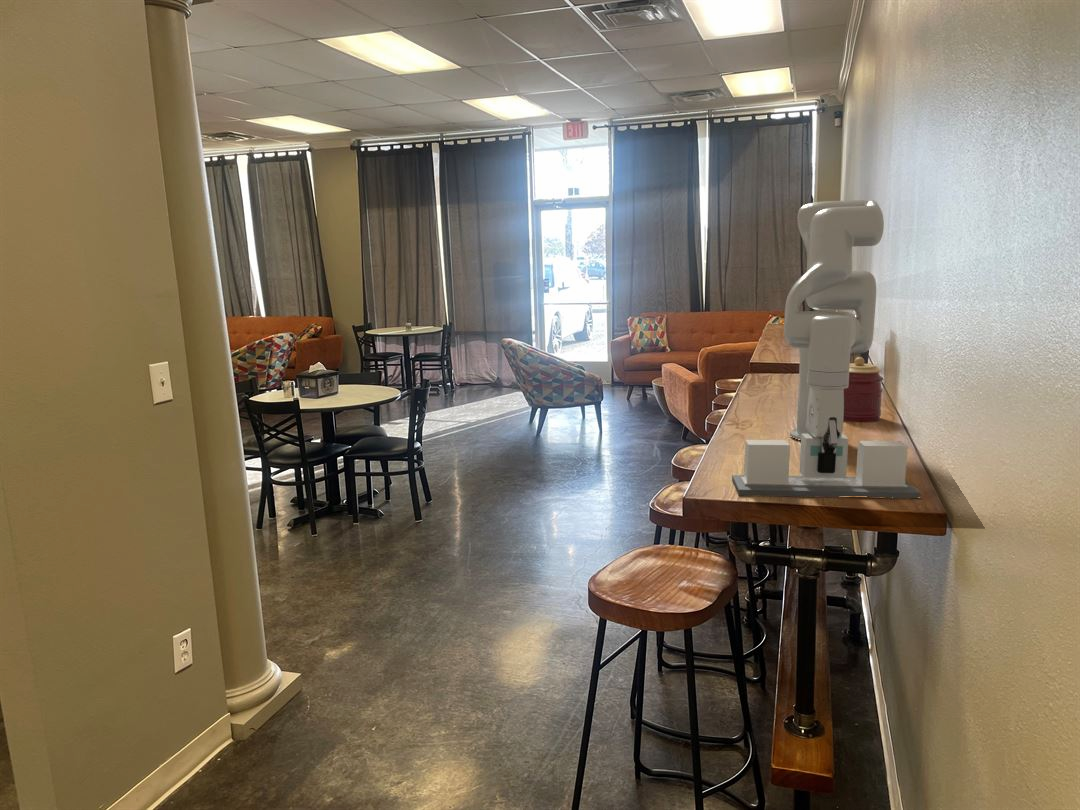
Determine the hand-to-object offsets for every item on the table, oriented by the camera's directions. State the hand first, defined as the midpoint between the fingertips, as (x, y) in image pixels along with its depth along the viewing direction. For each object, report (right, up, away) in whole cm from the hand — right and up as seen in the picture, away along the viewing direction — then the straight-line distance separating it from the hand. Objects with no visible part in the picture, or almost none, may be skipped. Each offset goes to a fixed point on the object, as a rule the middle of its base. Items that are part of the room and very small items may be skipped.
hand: (823, 468), depth 145 cm
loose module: (0, -1, 0) cm, 1 cm away
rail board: (0, -4, +1) cm, 4 cm away
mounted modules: (0, -3, 0) cm, 3 cm away
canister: (+34, +9, +64) cm, 73 cm away
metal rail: (0, -3, +1) cm, 3 cm away
